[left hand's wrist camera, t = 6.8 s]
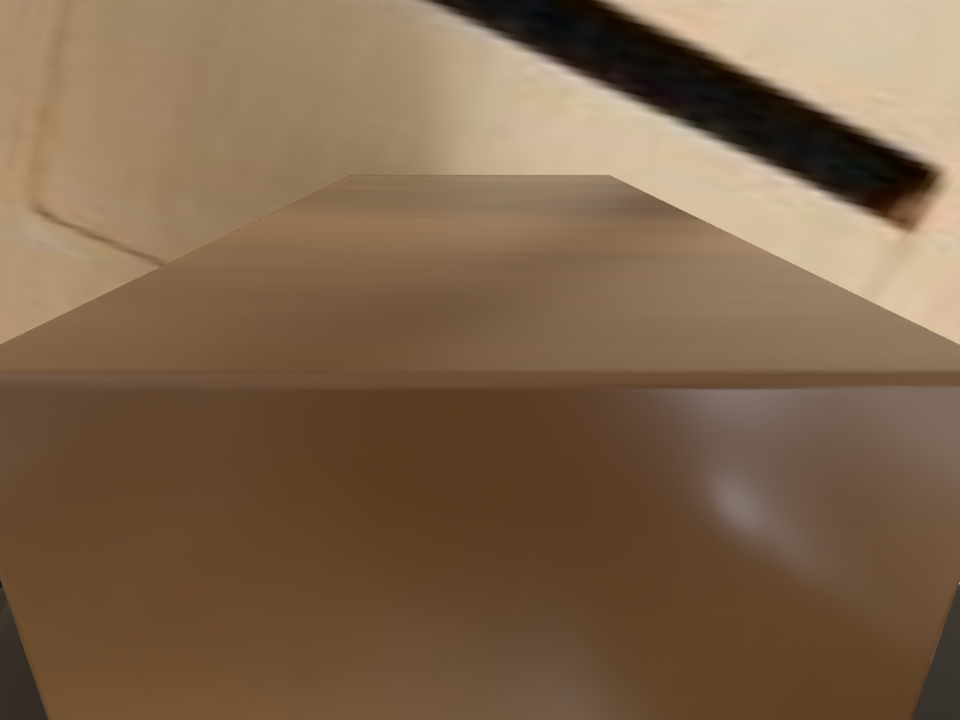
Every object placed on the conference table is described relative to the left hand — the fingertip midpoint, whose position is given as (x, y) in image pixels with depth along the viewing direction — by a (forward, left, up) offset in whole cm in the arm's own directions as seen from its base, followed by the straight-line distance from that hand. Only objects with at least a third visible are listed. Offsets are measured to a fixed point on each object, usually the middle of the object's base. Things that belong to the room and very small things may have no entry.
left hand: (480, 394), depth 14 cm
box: (+4, +7, -3) cm, 9 cm away
